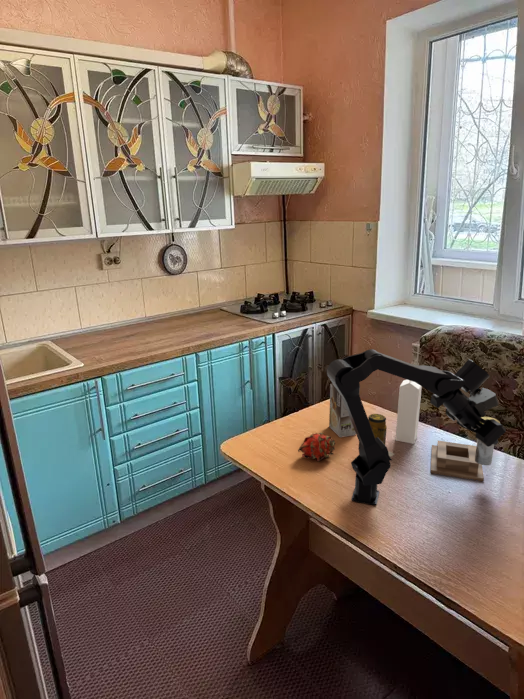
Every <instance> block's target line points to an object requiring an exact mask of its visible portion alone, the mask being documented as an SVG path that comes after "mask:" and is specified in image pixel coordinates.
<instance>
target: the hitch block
mask: <svg viewBox="0 0 524 699" xmlns="http://www.w3.org/2000/svg"><path fill="white" fill-rule="evenodd" d="M476 447H477V445H473V444H472V445H471V444H465V443H458V442H450V441H446V440H445V441H443V440H437V445H435V444H432V445H431V456H430V457H431V458H430V474H433V475H441V476H446V477H453V478H459V479H465V480H470V479H473V480H472V481H476V480H478V482H482V481H485V476H484V470H483V465H481V464H478V463H477V462H475V454H476Z"/></svg>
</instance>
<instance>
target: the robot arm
mask: <svg viewBox="0 0 524 699" xmlns="http://www.w3.org/2000/svg"><path fill="white" fill-rule="evenodd" d="M377 370H379V371H382V372H384V373H387V374H391V375H393V376H396V377H399V378H402V379H404V380H410V381H413V382H416V383H417V384H419V385H421V386H422V387H423V388H424V389H425V390H428V392H430V393H432V394H431V398H430V401H429V403H430V404H431V405H432V406H434V407H436V408H437V409H439V408H440V407H441V406H442V405H443V406H444V408H446V409H445V415H446V416H447V417H448V418H449V419H451V420H452V421H453V422H455V421H456V424H458V425H459V426H460V427H461V428H463V429H465V430H468V431H471V432H473V433H475V439H476V440H480V441H481V442H482V443H483V444H485V445H486V446H487V447H489V446H491V445H492V444H494V446H496V445H497V444H498V443H499V439H500V438H501V437H502V436H504V434H505V433H506V432H507V430H506V428H505V426H504V425H503V424H501V422H500V423H498V422H497V421H495V420H494V419H495V418H494V419H490V420H489V419H486V420H484V419H483V418H481V417H486V415H487V413H486V412H487V411H489V410H490V409H493V408H494V407H498V406H499V401H498V398H497V395H496V393H495V392H493V391H492V390H490V389H488V388H484V387H481V386H482V385H483V384H484V383H485V382H486V381H487V380H488V379H490V374H489V373H488V372H487V371H486V370H484V369H483V368H482V367H481V366H479V364H477V363H475V361H473V360H472V359H468V360H467V361H465V363H464V364H463V365H462V366H461V367H460V368H459V369H458V370H457V371H456V372H455V373H453V372H451V371H449V370H441V369H439V368H438V367H436V366H431V365H423V364H421V365H418V364H414V363H411V362H407V361H404V360H401V359H399V358H396V357H393V356H390V355H387V354H384V353H382V352H380V351H377V350H375V349H373V348H371V349H370V348H369V349H367V350H364V351H363V352H362V351H361V352H360V353H356V354H351V355H348V356H346V357H344V358H341V359H338V358H337V359H334V360H333V361H331V362H330V363H329V365H328V366H327V368H326V375H327V377H328V379H329V380H330V381H331V384H332V383H333V385H334V386H335V388H336V389H337V391H338V392H339V393H340V395H341V396H342V399H343V401H344V404H345V406H346V409H347V412H348V414H349V417H350V419H351V422H352V424H353V427H354V430H355V432H356V435H355V436H356V437H357V440H358V448H357V449H358V453H359V454H358V455H357V456H356V457H355V458H354V459H353V460H352V461H351V462H350V465H351V467H352V470H353V471H354V472H355V478H354V479H355V481H354V482H355V484H354V488H353V493H352V495H351V501H352V502H355V503H361V504H366V505H372V506H377V505H378V501H379V496H380V490H378V485H381V484H383V481H384V478H385V477H386V475H387V473H388V472H389V471H390V469H391V461H393V459H392V458H391V457H389V454H388V451H389V450H388V447H387V446H386V444H384V443H383V442H382V441H381V440H380V439H379V438H378V437H377V438H375V436H374V433H373V431H372V428H371V425H370V423H369V420H368V417H369V416H367V412H366V410H365V407H364V404H363V402H362V399H361V395H360V390H361V385H360V382H363V381H364V380H366V379H368V378H369V377H370V375H372V374H373V373H374V372H376V371H377ZM480 387H481V388H480ZM463 391H464V392H465V393H469V397H468V396H467V395H466V394H465V393H464V392H463ZM482 423H483V424H482Z"/></svg>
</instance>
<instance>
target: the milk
mask: <svg viewBox="0 0 524 699" xmlns="http://www.w3.org/2000/svg"><path fill="white" fill-rule="evenodd" d="M422 389H423V388H422V386H421V385H419V384H417V383H416V382H413V381H410V380H407V379H404V380H402V382H401V383H400V385H399V390H398V392H399V393H398V402H397V404H398V405H397V416H396V427H395V441H397V442H402V443H406V444H411V445H414V444H415V442H416V440H417V438H418V429H419V419H420V407H421V397H422Z"/></svg>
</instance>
